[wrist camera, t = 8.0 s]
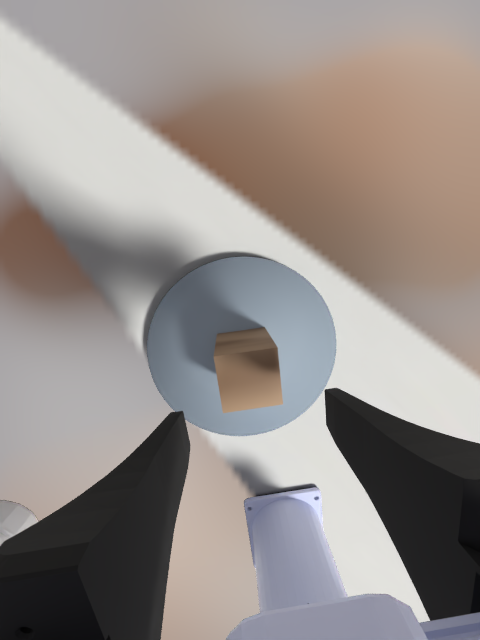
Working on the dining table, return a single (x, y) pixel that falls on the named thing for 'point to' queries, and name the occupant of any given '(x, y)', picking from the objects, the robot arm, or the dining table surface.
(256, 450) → the dining table surface
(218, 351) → the walnut block
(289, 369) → the slate dish
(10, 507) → the white cup
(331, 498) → the dining table surface
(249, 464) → the dining table surface
